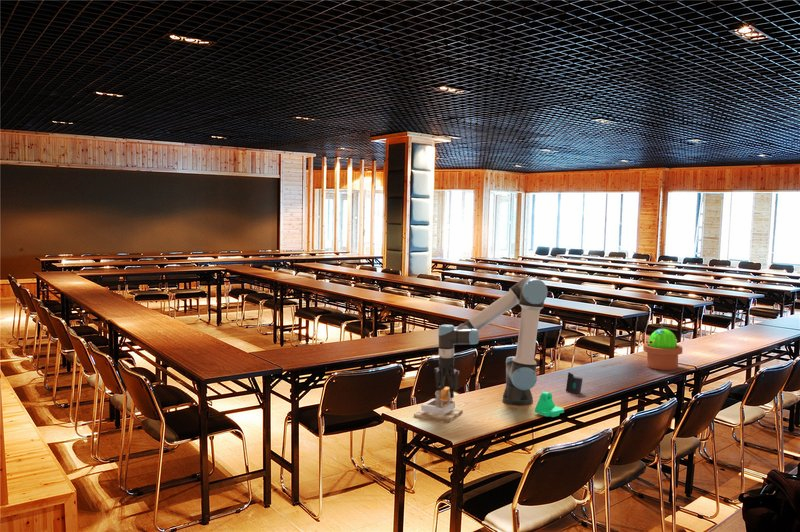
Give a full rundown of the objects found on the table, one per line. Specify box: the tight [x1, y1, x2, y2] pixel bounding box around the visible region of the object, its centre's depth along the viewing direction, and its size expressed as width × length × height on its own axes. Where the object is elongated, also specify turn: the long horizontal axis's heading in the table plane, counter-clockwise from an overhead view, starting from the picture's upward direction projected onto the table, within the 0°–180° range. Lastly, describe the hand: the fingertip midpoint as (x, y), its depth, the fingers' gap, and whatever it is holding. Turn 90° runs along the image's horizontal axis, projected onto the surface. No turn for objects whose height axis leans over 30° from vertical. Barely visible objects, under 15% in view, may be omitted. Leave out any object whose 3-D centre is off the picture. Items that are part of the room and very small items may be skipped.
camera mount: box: [534, 391, 565, 418], centre depth 278 cm, size 12×8×10 cm, turn 121°
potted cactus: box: [642, 328, 683, 371], centre depth 367 cm, size 22×22×25 cm
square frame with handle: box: [420, 386, 456, 415], centre depth 282 cm, size 18×12×8 cm, turn 150°
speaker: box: [565, 371, 583, 394], centre depth 314 cm, size 8×6×10 cm
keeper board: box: [413, 389, 464, 424], centre depth 279 cm, size 16×18×12 cm
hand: (446, 403), depth 288 cm, fingers closed on square frame with handle, 3 cm apart
